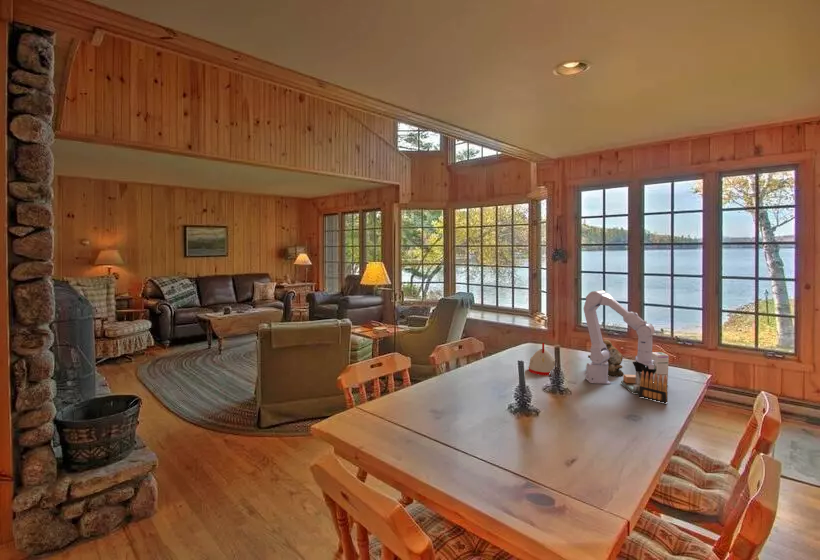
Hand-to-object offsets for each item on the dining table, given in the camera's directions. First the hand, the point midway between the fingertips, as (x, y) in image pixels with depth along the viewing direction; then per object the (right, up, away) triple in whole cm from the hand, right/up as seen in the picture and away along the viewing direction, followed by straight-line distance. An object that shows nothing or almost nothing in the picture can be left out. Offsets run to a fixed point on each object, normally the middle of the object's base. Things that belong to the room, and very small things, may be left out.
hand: (643, 380), depth 188 cm
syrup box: (+13, -4, +11) cm, 18 cm away
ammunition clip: (-2, -6, -11) cm, 13 cm away
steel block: (0, -3, 0) cm, 3 cm away
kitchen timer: (-36, -3, +30) cm, 47 cm away
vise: (0, -5, +2) cm, 5 cm away
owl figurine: (-4, -3, +29) cm, 29 cm away
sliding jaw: (+1, -3, +8) cm, 8 cm away
